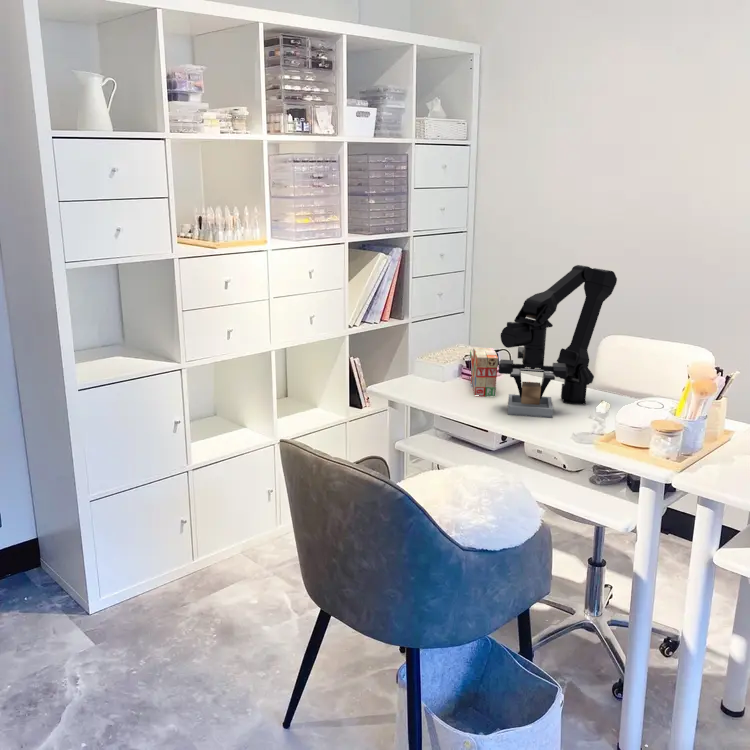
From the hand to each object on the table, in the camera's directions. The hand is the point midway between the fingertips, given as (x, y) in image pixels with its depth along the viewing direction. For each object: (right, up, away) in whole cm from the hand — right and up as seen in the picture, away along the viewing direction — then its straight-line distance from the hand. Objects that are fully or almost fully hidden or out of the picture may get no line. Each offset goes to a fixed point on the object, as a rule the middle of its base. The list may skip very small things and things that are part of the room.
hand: (530, 398), depth 217 cm
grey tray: (0, -3, +1) cm, 4 cm away
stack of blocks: (-11, +3, +23) cm, 26 cm away
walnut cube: (0, -1, 0) cm, 1 cm away
